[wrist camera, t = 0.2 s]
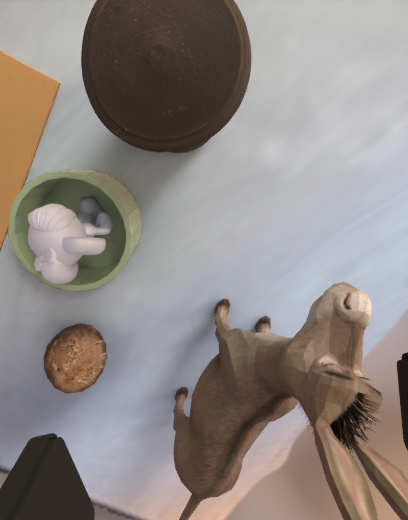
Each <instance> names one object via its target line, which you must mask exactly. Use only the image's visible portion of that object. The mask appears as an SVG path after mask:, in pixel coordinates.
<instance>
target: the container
mask: <svg viewBox="0 0 408 520" xmlns="http://www.w3.org/2000/svg"><path fill="white" fill-rule="evenodd" d="M81 65H82V75H83V81H84V85H85V89H86V93H87V95H88V98H89V100H90V103H91V105H92V107H93V109H94V111H95V113H96V115H97V116H98V118H99V119H100V121H101V122H102V123H103V124H104V125H105V126H106V127H107V129H109V130H110V131H111V132H112V133H113V134H114V135H115V136H117V137H118V138H120V139H121V140H123V141H124V142H126V143H128V144H130V145H132V146H134V147H137V148H140V149H143V150H147V151H154V152H166V151H169V152H176V153H182V152H188V151H191V150H194V149H196V148H198V147H200V146H202V145H203V144H204V143H206V142H207V141H208V140H209V139H210V138H211V137H212V136H214V135H215V134H216V133H217V132H219V131H220V130H221V129H222V128H223V127H224V126H225V125H226V124H227V123H228V122H229V121H230V119H231V118H232V117H233V115H234V114H235V113H236V111H237V109H238V108H239V106H240V104H241V102H242V100H243V97H244V95H245V92H246V89H247V85H248V82H249V77H250V71H251V46H250V40H249V35H248V31H247V27H246V24H245V21H244V19H243V16H242V14H241V12H240V10H239V8H238V6H237V5H236V3H235V1H234V0H97V1H96V2H95V4H94V6H93V8H92V10H91V13H90V15H89V18H88V21H87V23H86V27H85V31H84V36H83V43H82V56H81Z"/></svg>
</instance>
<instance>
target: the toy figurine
mask: <svg viewBox="0 0 408 520" xmlns="http://www.w3.org/2000/svg"><path fill="white" fill-rule="evenodd" d="M78 210H79V211H80V212H81V213H80V214H78V215H76V214H75V213H74V211H72V210H70V209H67V208H65V207H64V206H62V205H59V204H48V205H45V206H43V207H40V208H36V209H35V210H34V211H32V212H31V213H29V214H28V221H29V224H30V227H29V231H28V244H29V246H30V249H32V250H33V252H34V253H35V254H36V255H37V256H38V257H36V259H35V262H34V267H35V270H36V271H41V274H42V276H43V277H44V279H46V280H47V281H49V282H51V283H54V284H65V283H68V282H70V281H72V280H73V279H74V278H75V277H76V275H77V272H78V264H77V262H78V260H79V259H80V258H81V256H82V255H97V254H100V253H101V252H103V251H104V249H105V246H106V241H105V239H104V238H94V236H96V235H107V234H109V233H110V232H111V230H112V227H113V219H112V217H111V215H110V214H109V213H107V212H104V211H103V209H102V207H101V206H100V205H99V203H98V202H97V201H96V199H95V198H94V197H92V196H88V197H83V198H81V200H80V202H79V204H78Z"/></svg>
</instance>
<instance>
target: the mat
mask: <svg viewBox="0 0 408 520" xmlns="http://www.w3.org/2000/svg"><path fill="white" fill-rule="evenodd" d="M59 85H60V83H59V82H57V81H55V80H53V79H51V78H50V77H48V76H46V75H44V74H42V73H40V72H38V71H36V70H35V69H33V68H31V67H29V66H27V65H25V64H23V63H21V62H20V61H18V60H16V59H14V58H12V57H10V56H8V55H6V54H5V53H3V52H1V51H0V250H1V247H2V244H3V241H4V239H5V236H6V233H7V230H8V216H9V212H10V209H11V207H12V204H13V201H14V198H15V197H16V196H17V194H18V193H19V192H20V191H21V190H22V188H23V186H24V183H25V180H26V177H27V174H28V172H29V169H30V166H31V163H32V161H33V158H34V155H35V152H36V149H37V147H38V144H39V141H40V138H41V135H42V133H43V130H44V127H45V124H46V122H47V119H48V116H49V113H50V110H51V108H52V105H53V102H54V99H55V96H56V94H57V91H58V88H59Z"/></svg>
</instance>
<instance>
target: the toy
mask: <svg viewBox="0 0 408 520" xmlns="http://www.w3.org/2000/svg"><path fill="white" fill-rule="evenodd" d="M229 306H230V303H229V300H228V299H223V300H221V301H220V302H218V304H217V307H216V309H215V314H216V319H215V322H214V324H215V325H216V326H217V328H216V333H215V335H216V337H217V340H218V342H219V354H218V355H217V356H216V357H215V358H214V359H213V360H212V361H211V362H210V363H209V364H208V366H207V367H206V368H205V370H204V371H203V373H202V374H201V376H200V378H199V380H198V382H197V385H196V387H195V389H194V391H193V394H192V402H191V410H190V417H188V416H186V415H185V414H184V410H183V403H184V401H185V400H186V397H187V394H188V390H187V388H184V387H183V388H181V389H179V390H178V391H177V394H176V396H175V400H176V404H175V407H174V426H173V429H174V430H175V431H176V435H175V442H174V462H175V468H176V471H177V473H178V475H179V477H180V480H181V482H182V483H183V484H184V485H185V486H186V487H187V489H188V490H189V491H190V492H191V493H192V495H191V497H190V499H189V501H188V503H187V505H186V507H185V509H184V511H183V513H182V515H181V517H180V519H179V520H188V519H189V517H190V516H191V515H192V513H193V512H194V510H195V509H196V507H197V506H198V505H199V503H200V502H201V501H202V500H204V499H206V498H209V497H218V496H220V495H222V494H224V493H226V492H228V491H229V490H231V489H232V488H233V486H234V485H235V483H236V481H237V479H238V477H239V474H240V471H241V467H242V460H243V458H244V456H245V454H246V453H247V451H248V450H249V448H250V447H251V446H252V444H253V443H254V441H255V440H256V439H257V437H258V436H259V435H260V433H261V432H262V431H263V430H264V428H265V427H266V426H267V424H268V423H269V422H270V421H275V420H277V419H279V418H281V417H282V416H284V415H285V414H287V413H288V412H290V411H291V410H293V409H294V408H295V406H296V405H297V403H298V402H300V404H301V406H302V408H303V409H304V410H303V411H305V413H306V415H307V416H308V418H309V419H308V420H310V422H311V423H309V424H311V426H313V429H314V434H315V443H316V446H317V449H318V453H319V456H320V459H321V463H322V466H323V469H324V473H325V476H326V480H327V482H328V485H329V487H330V489H331V492H332V494H333V496H334V498H335V501H336V503H337V505H338V508H339V510H340V512H341V515H342V517H343V519H344V520H378V519H377V512H376V508H375V505H374V502H373V499H372V496H371V492H370V489H369V486H368V483H367V481H366V479H365V477H364V475H363V473H362V471H361V469H360V467H359V465H358V464H357V462H356V460H355V458H354V456H353V455H352V454H351V451H350V447H352V448H353V450H354V451H355V452H356V454H357V456H358V458H359V460H360V462H361V464H362V465H363V467H364V469H365V471H366V473H367V475H368V477H369V478H370V480H371V481H372V482H373V484H374V485H375V486H376V488H377V489H378V490H379V491H380V493H381V494H382V495H383V497H384V498H385V499H386V501H387V502H388V503H389V504H390V506H391V507H392V509H393V510H394V511H395V512H396V514H397V515H398V516H399V517H400V519H401V520H408V478H407V476H406V475H405V474H404V473H403V472H402V471H401V470H400V469H398V468H397V467H396V466H394V465H393V464H392V463H391V462H389V461H388V460H387V459H385V458H384V457H383V456H382V455H380V454H379V453H377V452H376V451H374V450H373V449H371V448H370V447H368V446H367V445H366V444H365V442H364V439H363V437H362V436H361V435H362V434H363V435H364V433H363V428H364V427H366V426H365V423H366V422H367V421H368V417H370V416H371V415H372V414H373V413H374V412H375V411H377V410H378V409H379V407H380V405H381V403H382V400H383V398H382V395H381V393H380V392H379V391H378V390H376V389H375V388H374V386H373V384H372V382H371V381H370V379H367V378H364V375H363V363H362V354H363V334H364V330H365V328H366V327H367V325H368V324H369V321H370V315H371V301H370V299H369V297H368V296H367V295H366V294H365V293H363V292H362V291H361V290H358V289H356V288H354V287H353V286H351V285H350V284H348V283H345V282H342V283H338V284H334V285H332V286H331V287H330V288H329V289H327V290H326V291H325V293H324V294H323V295H322V296H321V297H319V298H318V299H317V300H316V301H315V302H314V303H313V304H312V306H311V309H310V311H309V314H308V318H307V321H306V322H305V324H304V326H303V327H302V329H301V330H300V331H299V332H298V333H297V334H296V335H295V336H294V337H293V338H285V337H282V336H279V335H276V334H272V333H268V332H269V330H270V318H269V317H267V316H266V317H263V318H261V319H260V320H259V322H258V323H257V325H256V333H252V332H251V331H245V330H241V329H232V330H231V328H230V327H229V325H228V324H227V323H226V315H227V314H228V313H229ZM298 404H299V403H298ZM299 406H300V405H299ZM301 406H300V407H301ZM298 408H299V407H298ZM301 412H302V411H301ZM303 413H304V412H303ZM306 415H305V416H306ZM307 416H306V417H307ZM370 418H371V417H370ZM373 418H374V417H373ZM373 418H372V419H373ZM307 423H308V422H307ZM368 423H371V422H369V421H368ZM364 429H365V428H364ZM368 429H369V428H368ZM365 430H366V429H365ZM335 436H336V437H335ZM364 436H365V435H364ZM338 438H339V439H338ZM365 438H366V437H365ZM343 440H344V441H343ZM341 441H342V442H341ZM344 443H346V446H347V447H348V449H349V451H350V452H349V451H348V450H347V449H346V446H344ZM348 445H350V447H349V446H348ZM352 448H351V449H352Z"/></svg>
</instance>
